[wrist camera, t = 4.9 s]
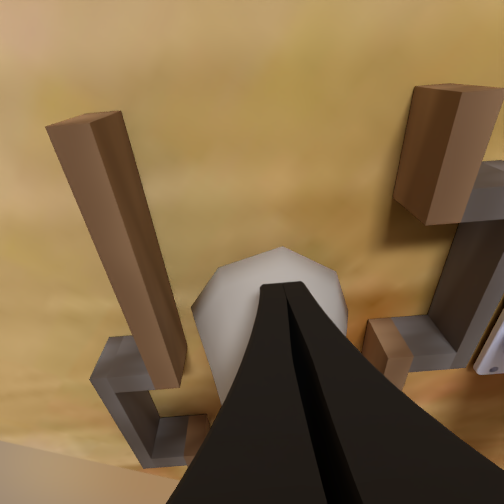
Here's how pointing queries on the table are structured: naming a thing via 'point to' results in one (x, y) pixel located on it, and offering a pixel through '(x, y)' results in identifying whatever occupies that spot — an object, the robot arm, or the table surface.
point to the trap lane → (378, 330)
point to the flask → (255, 305)
